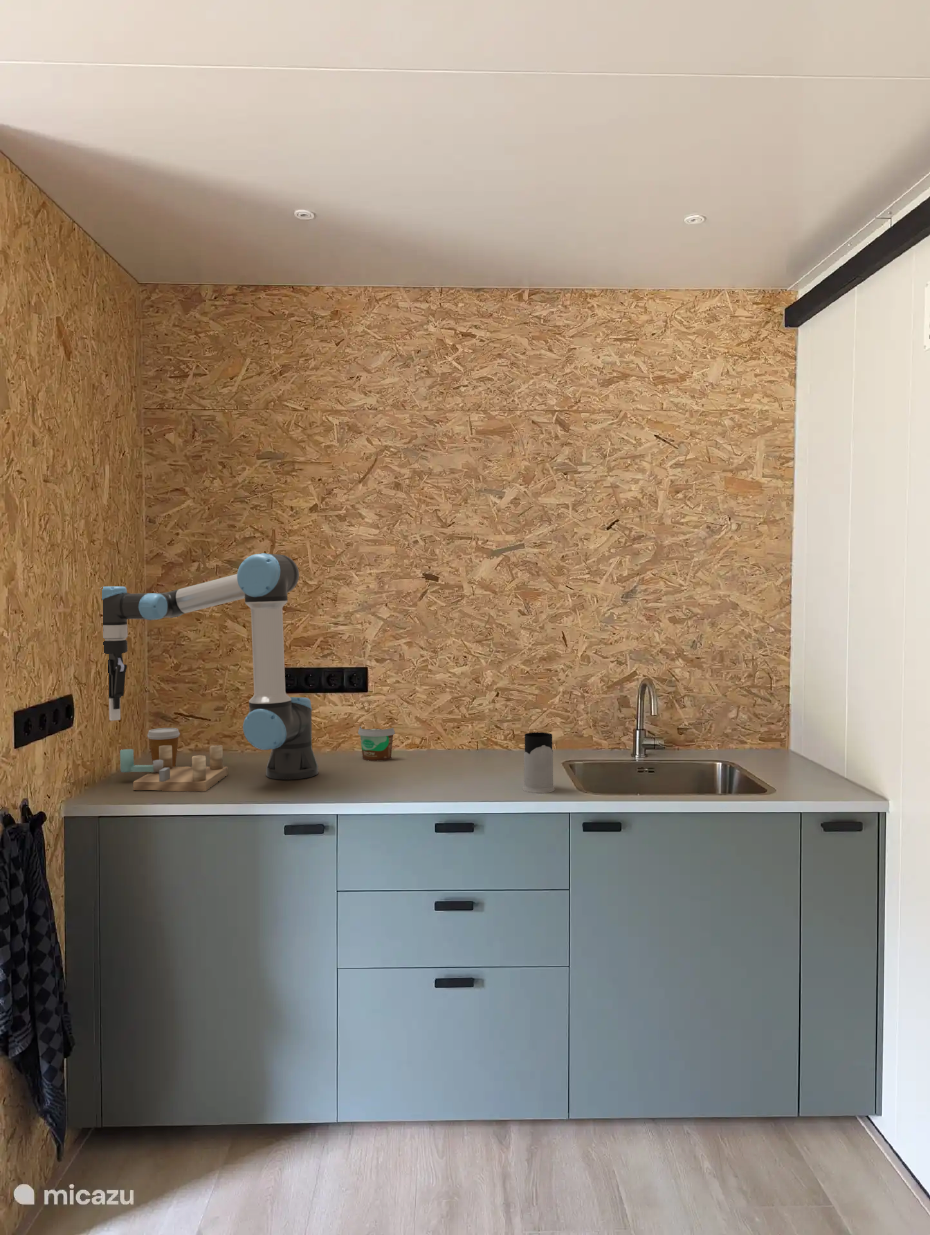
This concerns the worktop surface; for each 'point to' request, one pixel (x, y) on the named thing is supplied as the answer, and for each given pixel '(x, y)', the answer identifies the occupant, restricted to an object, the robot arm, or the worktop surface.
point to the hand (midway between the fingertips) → (114, 719)
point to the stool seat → (186, 772)
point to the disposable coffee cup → (163, 741)
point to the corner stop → (164, 774)
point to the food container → (376, 743)
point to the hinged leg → (129, 766)
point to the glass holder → (538, 763)
